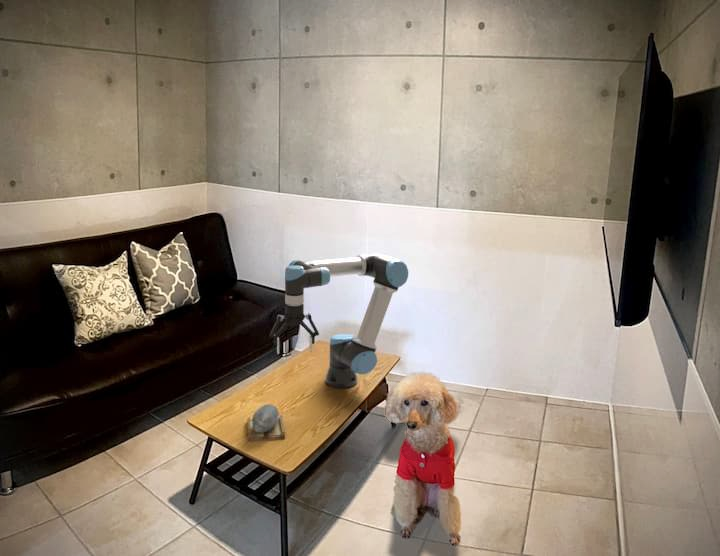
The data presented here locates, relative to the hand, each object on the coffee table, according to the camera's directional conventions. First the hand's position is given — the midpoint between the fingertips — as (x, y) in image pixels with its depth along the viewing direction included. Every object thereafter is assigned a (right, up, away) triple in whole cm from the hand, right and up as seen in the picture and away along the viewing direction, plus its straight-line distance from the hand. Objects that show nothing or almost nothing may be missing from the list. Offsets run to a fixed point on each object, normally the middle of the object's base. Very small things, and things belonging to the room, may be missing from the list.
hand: (294, 352), depth 255 cm
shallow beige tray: (-10, -30, -11) cm, 33 cm away
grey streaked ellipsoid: (-10, -29, -11) cm, 33 cm away
